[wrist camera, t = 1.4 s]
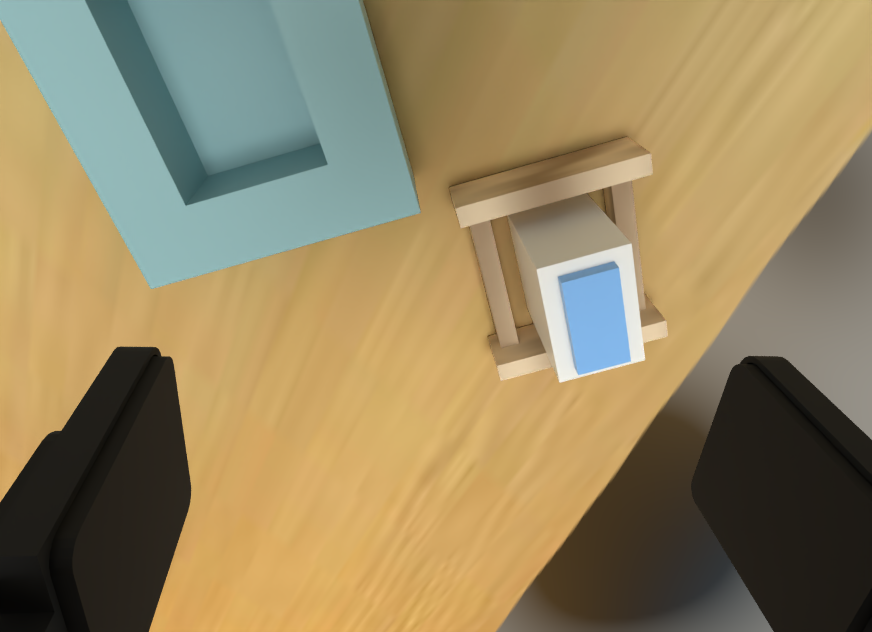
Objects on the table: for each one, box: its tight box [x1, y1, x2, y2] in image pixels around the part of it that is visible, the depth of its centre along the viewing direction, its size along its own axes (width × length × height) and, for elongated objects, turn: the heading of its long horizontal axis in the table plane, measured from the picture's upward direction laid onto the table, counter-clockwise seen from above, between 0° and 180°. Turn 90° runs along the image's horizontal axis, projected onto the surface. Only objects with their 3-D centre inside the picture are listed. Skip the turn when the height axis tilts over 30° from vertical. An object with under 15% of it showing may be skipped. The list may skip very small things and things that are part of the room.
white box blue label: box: [507, 193, 645, 383], centre depth 30 cm, size 4×6×8 cm, turn 15°
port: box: [0, 0, 421, 289], centre depth 26 cm, size 12×14×5 cm
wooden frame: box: [449, 137, 668, 381], centre depth 32 cm, size 9×10×3 cm
